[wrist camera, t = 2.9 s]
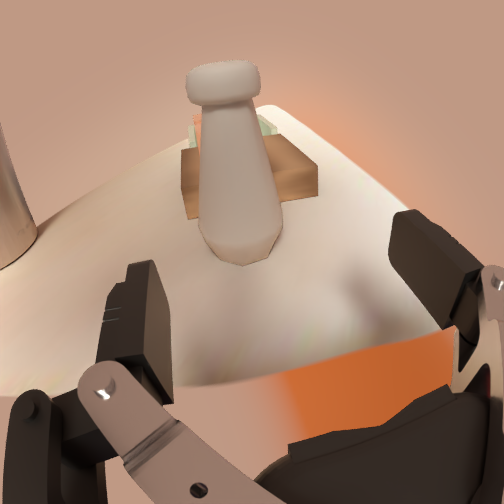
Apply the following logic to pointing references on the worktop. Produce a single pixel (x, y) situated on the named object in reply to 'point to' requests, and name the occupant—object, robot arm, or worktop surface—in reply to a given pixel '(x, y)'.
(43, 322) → the worktop surface
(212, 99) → the salt shaker
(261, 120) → the tray
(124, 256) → the worktop surface
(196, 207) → the board
